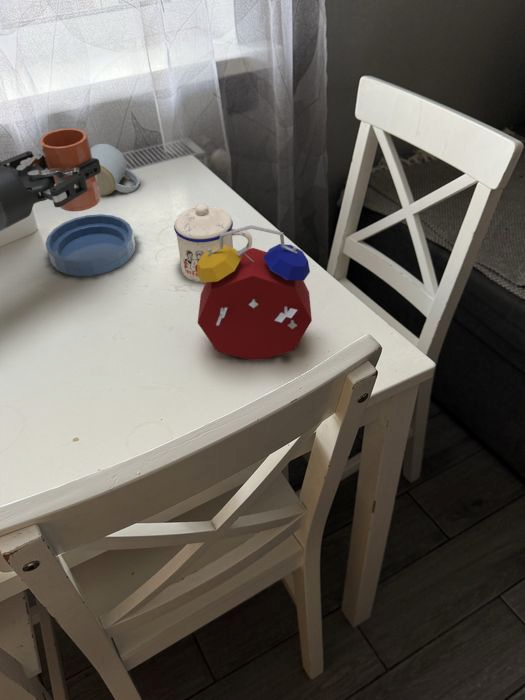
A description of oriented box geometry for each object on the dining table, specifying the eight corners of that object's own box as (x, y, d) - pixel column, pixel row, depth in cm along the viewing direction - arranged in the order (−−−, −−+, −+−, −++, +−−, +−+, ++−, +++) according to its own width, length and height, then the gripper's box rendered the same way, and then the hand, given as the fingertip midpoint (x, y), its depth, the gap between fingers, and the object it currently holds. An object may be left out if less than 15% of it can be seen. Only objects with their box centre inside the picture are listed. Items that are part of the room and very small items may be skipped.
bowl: (36, 273, 98) (29, 256, 96) (74, 227, 108) (69, 210, 106) (115, 284, 96) (111, 266, 93) (147, 236, 106) (144, 218, 103)
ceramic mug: (81, 198, 116) (72, 161, 110) (93, 178, 121) (85, 142, 116) (135, 200, 115) (128, 163, 110) (144, 179, 121) (138, 143, 116)
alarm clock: (307, 331, 86) (312, 209, 73) (311, 374, 80) (316, 250, 66) (205, 333, 87) (191, 212, 73) (201, 376, 80) (184, 253, 67)
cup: (50, 209, 90) (31, 145, 83) (70, 188, 95) (53, 126, 88) (89, 213, 89) (73, 149, 82) (107, 192, 94) (93, 130, 87)
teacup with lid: (178, 287, 95) (169, 223, 87) (182, 254, 101) (173, 192, 93) (254, 284, 95) (251, 220, 87) (252, 251, 101) (250, 189, 93)
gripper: (9, 195, 74) (110, 146, 83) (-56, 164, 80) (45, 122, 90) (27, 246, 79) (120, 194, 88) (-35, 213, 85) (58, 168, 95)
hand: (82, 158), depth 89 cm, fingers closed on cup, 6 cm apart
